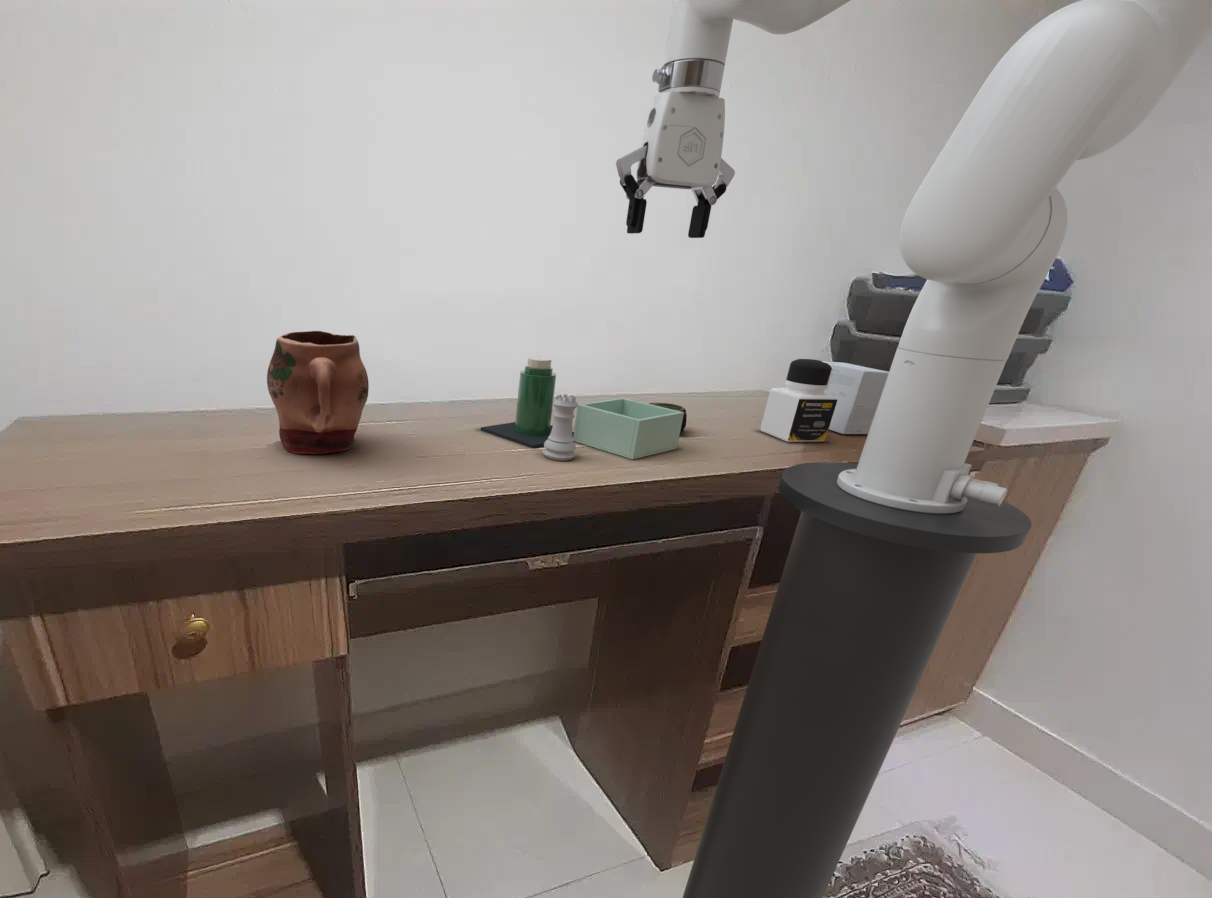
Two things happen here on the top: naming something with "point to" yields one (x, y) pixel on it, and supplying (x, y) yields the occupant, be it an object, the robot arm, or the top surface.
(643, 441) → the case
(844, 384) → the cosmetics box
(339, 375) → the brown clay mug
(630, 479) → the top surface
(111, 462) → the top surface
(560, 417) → the rook chess piece
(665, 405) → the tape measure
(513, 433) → the mat
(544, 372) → the green bottle
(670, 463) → the top surface
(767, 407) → the medicine bottle
